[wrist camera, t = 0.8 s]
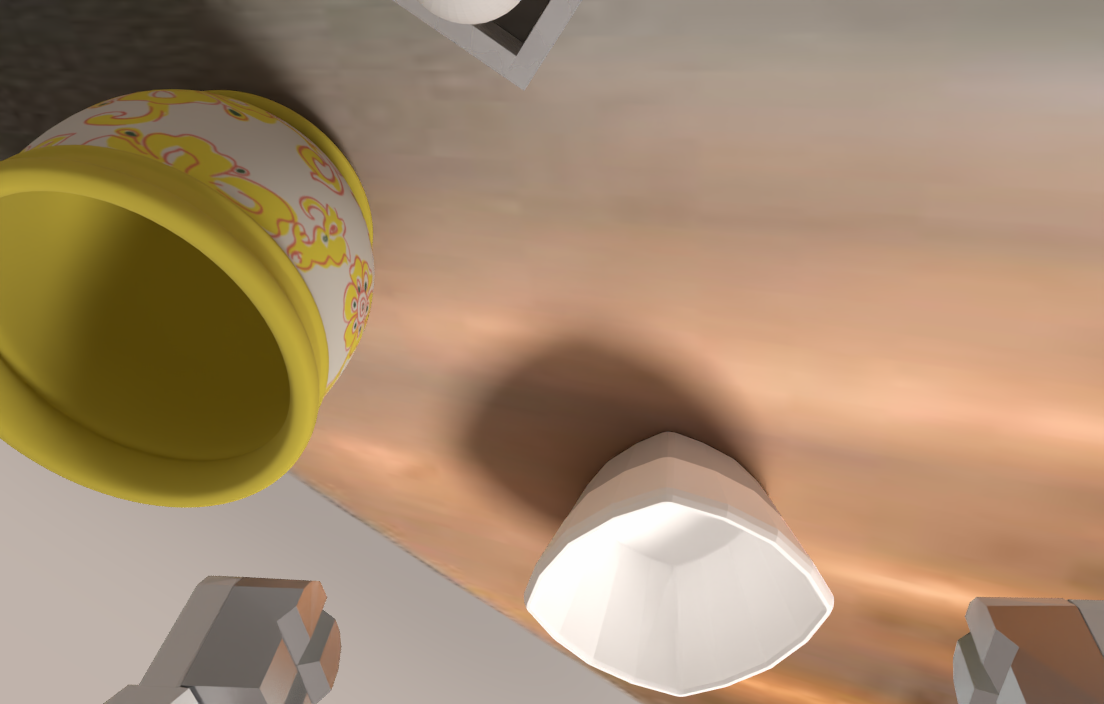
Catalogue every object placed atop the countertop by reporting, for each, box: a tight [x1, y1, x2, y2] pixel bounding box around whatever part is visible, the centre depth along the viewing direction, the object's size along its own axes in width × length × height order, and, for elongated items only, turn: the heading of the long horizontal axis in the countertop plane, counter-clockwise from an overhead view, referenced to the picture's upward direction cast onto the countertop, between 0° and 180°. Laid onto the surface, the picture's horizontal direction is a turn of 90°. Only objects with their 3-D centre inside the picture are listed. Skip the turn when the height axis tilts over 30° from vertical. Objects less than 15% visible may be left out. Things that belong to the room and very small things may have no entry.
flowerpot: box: [0, 89, 374, 507], centre depth 42 cm, size 18×18×16 cm
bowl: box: [524, 432, 834, 697], centre depth 55 cm, size 18×18×9 cm
